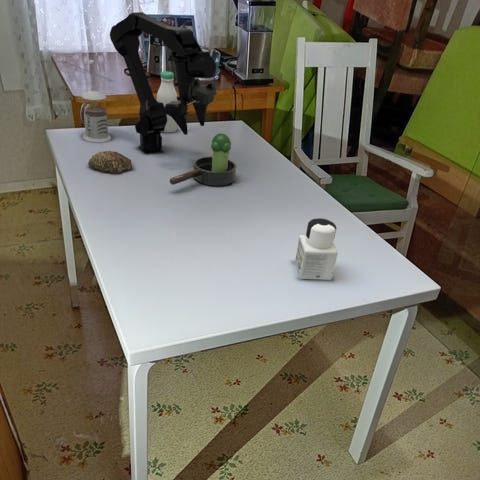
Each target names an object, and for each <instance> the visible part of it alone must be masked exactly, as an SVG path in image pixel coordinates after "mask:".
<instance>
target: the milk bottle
mask: <svg viewBox="0 0 480 480" xmlns="http://www.w3.org/2000/svg"><path fill="white" fill-rule="evenodd" d="M174 78H175V72H172V71H166V70H165V71H161V72H160V80H161V82H160V86H159V88H158V90H157V94H156V101H157V102H158V103H161V102H162V103H163V104H164V107H165V105H166V104H167V103H170V102H172V101H179V100H177V97H178V94H177V90H176V87H175V85H174V80H175V79H174ZM166 116H167V120H168V121H167V124H166V126H165V129H164V131H162V132H161V133H175V132H177V131H178V125H177V123H176V122H175V121H174V119H173V118H172V117H171V116H169V115H168V114H167V115H166Z"/></svg>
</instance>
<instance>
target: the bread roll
mask: <svg viewBox="0 0 480 480" xmlns="http://www.w3.org/2000/svg"><path fill="white" fill-rule="evenodd" d="M87 165H88V167H89V168H91V169H92V170H94V171H97V172H101V173H107V174H114V175H116V174H120V173H123V172H124V171H126V170H127V171H131V170H133V165H132V159H131V158H128V157H127V156H125V155H124V154H122V153H121V152H118V151H113V150H105V151H104V150H103V151H98V152H96V153H95V154H93V155H92V156H91V157H90V159H89V160H88V163H87Z"/></svg>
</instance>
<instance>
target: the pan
mask: <svg viewBox="0 0 480 480" xmlns="http://www.w3.org/2000/svg"><path fill="white" fill-rule="evenodd" d="M196 169H201V170H202V175H200V176H197V177H194V178H193V179H194V180H196V181H197V182H198V183H201V184H203V185H206V186H213V187H221V186H222V187H224V186H228V185H229V184H233V183H234V182H235V181H236V175H237V163H235V162H234V161H233V160H231V159H228V165H227V172H212V156H202V157H199V158H196V159H195V160H194V162H193V170H196ZM193 170H192V171H193Z"/></svg>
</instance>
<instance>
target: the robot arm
mask: <svg viewBox="0 0 480 480" xmlns="http://www.w3.org/2000/svg"><path fill="white" fill-rule="evenodd" d="M143 33H145V34H147V35H150V36H152V37H154V38H156V39H158V40H160V41H162V42H163V43H164V46H165V47H166V48H167V49H168V50H169V51H171V52H170V55H169V57H168V58H167V61H168V62H173V67H174V75H175V80H176V81H173V84H174V87H177V90H178V95H177V100H178V101H172V102H170V103H167V104H166V105H165V107H164V104H163V103H162V102H161V103H158V102H157V99H156V98H155V96H154V93H153V90H152V87H151V84H150V81H149V79H148V76H147V73H146V70H145V68H144V64H143V62H142V59H141V55H140V52H139V51H140V42H141V41H140V37H141V36H142V35H143ZM109 39H110V41H111V43H112V45H113V48H114V49H115V51H116V52H117V53H118V54H119V55H120V57H122V58H123V60H124V63H125V66H126V69H127V71H128V74H129V77H130V79H131V81H132V85H133V87H134V90H135V93H136V96H137V98H138V101H139V112H138V115H139V120H138V121H137V123H136V124H135V125H134V129H135V132H136V133H137V134H139V145H138V149H139V150H140V151H141V152H142V153H143V154H145V155H147V154H159V153H163V152H164V151H163V136H162V134H161V133H163V132H162V131H164V129H165V126H166V124H167V121H168V120H167V116H166V115H167V114H168V115H169V116H171V117H172V118H173V119H174V121H175V122H176V123H177V127H178V128H179V129H180V131H181V132H182V133H183V135H186V136H188V133H189V132H188V130H189V129H188V121H187V117H188V115H189V113H190V112H189V111H188V109H189V106H191V105H192V107H193V109H194V111H195V114H196V118H197V121H198V123H199V125H200V127H204V126H205V124H206V123H205V121H206V116H207V109H208V107H209V105H211V103H213V102H214V99H215V96H217V94H218V93H217V87H216V84H215V83H213V82H209V83H207V84H204V85H202V84H201V81H200V78H201V79H211V78H213V77H214V76H215V75H216V72H217V64H216V61H215V59H214V58H213V57H212V56H211V52H210V50H209V51H203V49H202V47H201V45H200V43H199V42H198V40H197V39H196V37H195V35H194V32H193V30H191V29H190V28H187V27H180V26H172V25H169V24H167V23H165V22H162V21H160V20H159V19H156V18H154V17H151V16H149V15H147V14H146V13H145V12H143V11H136V12H131V13H130V14H128V15H127V16H126V18H124V19H122V20H121V21H119V22H117V23H116V24H114V25H112V27H111V28H110V31H109Z"/></svg>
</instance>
